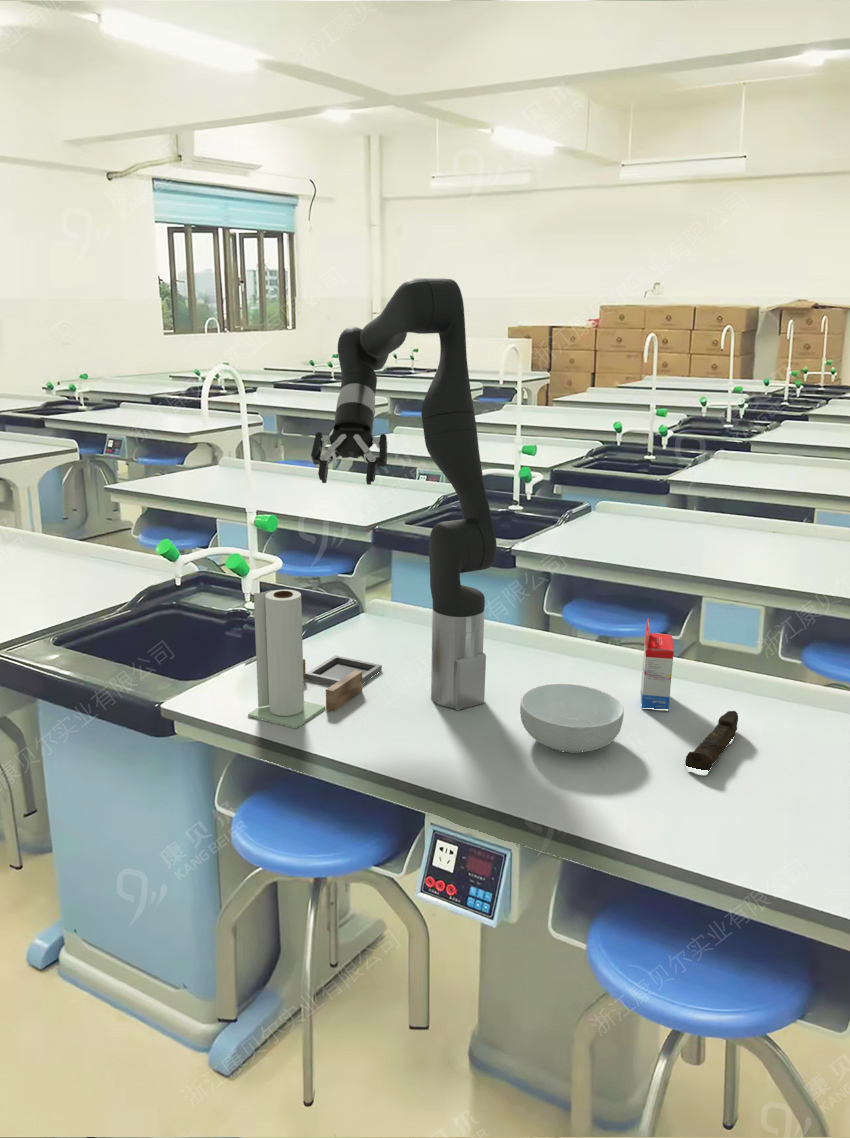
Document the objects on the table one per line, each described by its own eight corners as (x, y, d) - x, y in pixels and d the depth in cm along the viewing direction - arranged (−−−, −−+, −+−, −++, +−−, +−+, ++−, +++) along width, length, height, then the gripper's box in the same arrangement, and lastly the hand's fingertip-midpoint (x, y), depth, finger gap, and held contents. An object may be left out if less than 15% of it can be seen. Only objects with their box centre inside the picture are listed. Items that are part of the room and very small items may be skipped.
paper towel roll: (311, 709, 162) (308, 593, 156) (284, 720, 158) (280, 601, 151) (285, 697, 166) (281, 584, 160) (258, 707, 162) (253, 592, 156)
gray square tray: (335, 660, 185) (335, 655, 184) (381, 670, 180) (381, 665, 180) (305, 679, 176) (305, 673, 175) (353, 690, 171) (353, 684, 171)
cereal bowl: (598, 777, 141) (601, 735, 139) (501, 750, 150) (502, 710, 148) (635, 735, 155) (638, 696, 153) (544, 712, 164) (546, 675, 162)
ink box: (669, 712, 164) (676, 635, 160) (640, 710, 165) (647, 632, 161) (666, 693, 172) (673, 619, 168) (639, 691, 173) (646, 617, 169)
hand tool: (708, 780, 141) (711, 753, 140) (683, 772, 144) (686, 745, 142) (749, 737, 156) (753, 712, 155) (726, 730, 158) (729, 705, 157)
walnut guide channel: (299, 677, 177) (298, 657, 176) (362, 691, 171) (362, 671, 170) (267, 696, 168) (267, 675, 167) (333, 712, 162) (333, 691, 161)
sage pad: (278, 697, 168) (278, 694, 168) (325, 708, 163) (325, 706, 163) (248, 716, 160) (248, 713, 160) (296, 728, 156) (296, 726, 156)
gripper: (316, 399, 178) (305, 469, 171) (389, 401, 177) (381, 471, 170) (322, 423, 185) (311, 491, 177) (392, 425, 184) (385, 493, 176)
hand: (346, 481), depth 173 cm, fingers open, 8 cm apart
